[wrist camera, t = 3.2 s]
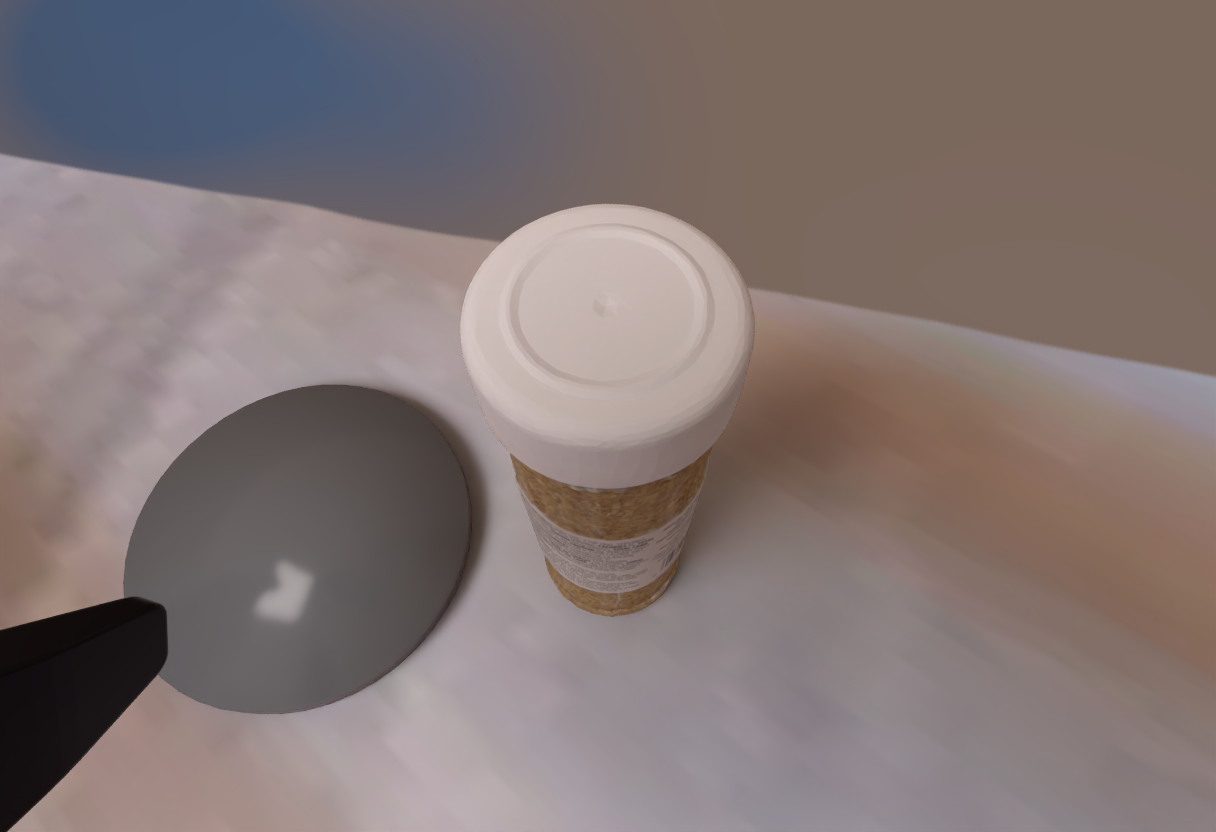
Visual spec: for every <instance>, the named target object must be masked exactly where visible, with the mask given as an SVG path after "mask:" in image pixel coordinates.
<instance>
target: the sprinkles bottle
mask: <svg viewBox="0 0 1216 832" xmlns="http://www.w3.org/2000/svg"><path fill="white" fill-rule="evenodd" d="M754 333H755V322H754V312H753V307H752V302H751V298H750V294H749V291H748V289H747V286H746V284H745V282H744V280H743V278H742V276H741V274H740V272H739V270H738V269H737V267H736V266H735V264H734V263H733V262H732V260H731V259H730V258H729V257H728V255H727V254H726V253H725V252H724V251H723V250H722V249H721V248H720V247H719V246H718V244H716V243H715V242H714V241H713V240H712V239H711V238H709V237H708V236H707V235H705V234H704V233H703V232H701V231H700V230H698V229H697V228H695V227H693V226H692V225H690V224H688V223H686V222H684V221H682V220H680V219H677V218H675V217H673V216H670V215H668V214H666V213H662V212H659V211H655V210H652V209H648V208H644V207H639V206H633V205H623V204H596V205H586V206H580V207H575V208H570V209H566V210H562V211H558V212H556V213H553V214H550V215H547V216H544V217H542V218H540V219H538V220H536V221H533V222H531V223H530V224H527V225H525V226H524V227H522V228H521V229H519V230H517V231H516V232H514V233H513V234H511V236H509V237H508V238H507V239H505V240H504V241H503V242H502V243H501V244H500V245H498V246H497V247H496V248H495V249H494V250H493V252H492V253H491V254H490V255H489V256H488V257H487V258H486V259H485V261H484V262H483V263H482V265H481V266H480V268H479V269H478V271H477V272H476V274H475V276H474V278H473V280H472V282H471V284H470V286H469V288H468V291H467V293H466V296H465V300H464V303H463V307H462V313H461V323H460V335H461V346H462V354H463V357H464V361H465V364H466V367H467V370H468V374H469V377H470V380H471V382H472V385H473V388H474V390H475V393H476V396H477V398H478V401H479V404H480V406H481V409H482V412H483V414H484V416H485V418H486V421H487V423H488V424H489V426H490V428H491V429H492V431H493V433H494V434H495V435H496V437H497V438H498V439H499V440H500V442H501V443H502V444H503V446H504V447H505V448H506V449H507V450H508V451H509V452H510V456H511V459H512V462H513V466H514V470H515V473H516V483H517V486H518V489H519V491H520V494H521V497H522V499H523V502H524V504H525V507H526V510H527V512H528V515H529V517H530V520H531V523H532V525H533V528H534V531H535V533H536V536H537V538H538V541H539V544H540V546H541V548H542V550H543V552H544V554H545V561H546V564H547V568H548V571H549V574H550V576H551V578H552V580H553V581H554V583H555V584H556V586H557V587H558V589H559V591H560V592H561V594H562V595H563V596H564V597H565V598H567V599H568V600H570V601H571V602H573V603H574V604H575V605H576V606H577V607H579V608H581V609H584V610H586V611H588V612H590V613H593V614H599V615H604V616H611V617H613V616H618V615H626V614H630V613H633V612H636V611H639V610H641V609H643V608H645V607H646V606H648V605H650V604H651V603H653V602H654V601H655V600H656V599H658V598H659V597H660V596H661V595H662V594H663V592H664V591H665V589H666V588H667V586H668V585H669V584H670V583H671V581H672V578H673V576H674V574H675V573H676V570H677V567H678V564H679V554H680V551H681V549H682V546H683V544H684V541H685V538H686V535H687V532H688V529H689V526H690V523H691V520H692V517H693V514H694V511H695V508H696V505H697V501H698V498H699V495H700V492H701V489H702V486H703V483H704V480H705V477H706V474H707V470H708V465H709V458H710V452H711V448H712V446H713V444H714V443H715V442H716V441H717V439H718V438H719V437H720V436H721V435H722V433H723V431H724V430H725V428H726V426H727V425H728V423H729V421H730V419H731V417H732V415H733V412H734V410H735V408H736V405H737V402H738V399H739V396H740V393H741V390H742V387H743V384H744V381H745V377H746V373H747V369H748V365H749V361H750V357H751V353H752V349H753V343H754Z"/></svg>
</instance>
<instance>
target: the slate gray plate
mask: <svg viewBox="0 0 1216 832" xmlns="http://www.w3.org/2000/svg"><path fill="white" fill-rule="evenodd" d="M471 528H472V520H471V503H470V497H469V491H468V486H467V483H466V480H465V477H464V474H463V471H462V469H461V467H460V465H459V463H458V461H457V459H456V457H455V455H454V453H453V451H452V449H451V447H450V446H449V444H448V443H447V441H446V440H445V438H444V437H443V436H442V434H441V433H440V431H439V430H438V429H437V428H436V427H435V426H434V425H433V424H432V423H431V422H430V421H429V420H428V419H427V418H426V417H425V416H424V415H423V414H421V413H420V412H419V411H417V410H416V409H415V408H413V407H412V406H410V405H408V404H407V403H405V402H403V401H401V400H399V399H398V398H396V397H393V396H390V395H388V394H385V393H383V392H380V391H376V390H372V389H368V388H364V387H358V386H349V385H317V386H309V387H302V388H297V389H293V390H288V391H284V392H281V393H278V394H275V395H272V396H269V397H266V398H263V399H261V400H258V401H256V402H254V403H252V404H249V405H247V406H245V407H243V408H241V409H239V410H238V411H236V412H234V413H232V414H230V415H229V416H227V417H225V418H224V419H222V420H221V421H219V422H218V423H217V424H215V425H214V426H212V427H211V428H209V429H208V430H207V431H205V432H204V433H203V434H202V435H201V436H200V437H198V438H197V439H196V440H195V441H194V442H193V443H191V444H190V445H189V446H188V447H187V448H186V449H185V450H184V451H183V452H182V453H181V454H180V455H179V456H178V458H177V459H176V460H175V461H174V462H173V463H172V464H171V466H170V467H169V468H168V469H167V471H166V472H165V473H164V474H163V476H162V477H161V478H160V480H159V481H158V483H157V484H156V486H155V487H154V489H153V491H152V492H151V494H150V495H149V497H148V499H147V501H146V503H145V505H144V507H143V509H142V511H141V513H140V515H139V517H138V519H137V522H136V525H135V527H134V530H133V533H132V536H131V539H130V542H129V547H128V551H127V556H126V560H125V571H124V582H123V584H124V598H127V597H131V596H137V597H142V598H145V599H148V600H151V601H154V602H157V603H160V604H162V605H163V606H164V607H165V609H166V611H167V625H168V657H167V660H166V662H165V664H164V666H163V668H162V669H161V671H160V672H159V673H158V674H159V675H160V677H161V678H162V679H164V680H165V681H166V682H167V683H169V684H170V685H171V686H173V687H174V688H175V689H176V690H178V691H179V692H181V693H183V694H185V695H187V696H189V697H190V698H192V699H194V700H196V701H198V702H201V703H204V704H207V705H210V706H213V707H216V708H219V709H224V710H231V711H237V712H244V713H254V714H285V713H293V712H300V711H306V710H310V709H314V708H317V707H321V706H325V705H328V704H331V703H334V702H336V701H338V700H341V699H343V698H346V697H348V696H350V695H353V694H355V693H357V692H358V691H360V690H362V689H364V688H365V687H367V686H369V685H371V684H372V683H374V682H376V681H377V680H379V679H380V678H381V677H383V676H384V675H386V674H387V673H388V672H390V671H391V670H392V669H394V668H395V667H397V666H398V665H399V664H400V663H401V662H402V661H403V660H404V659H405V658H406V657H407V656H409V655H410V654H411V653H412V652H413V651H414V650H415V649H416V648H417V647H418V646H419V644H420V643H421V642H422V641H423V640H424V639H425V637H426V636H427V635H428V634H429V633H430V632H431V630H432V629H433V628H434V626H435V625H436V623H437V622H438V620H439V619H440V617H441V616H442V614H443V613H444V611H445V610H446V608H447V606H448V604H449V602H450V600H451V599H452V597H453V595H454V593H455V591H456V589H457V586H458V584H459V581H460V578H461V576H462V573H463V570H464V568H465V563H466V559H467V555H468V551H469V547H470V537H471Z"/></svg>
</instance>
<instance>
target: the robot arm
mask: <svg viewBox="0 0 1216 832" xmlns="http://www.w3.org/2000/svg"><path fill="white" fill-rule="evenodd" d="M167 657H168V625H167V611H166V609H165V607H164V606H163V605H162V604H160V603H157V602H154V601H151V600H148V599H145V598H142V597H137V596H131V597H127V598H123V599H119V600H115V601H111V602H107V603H103V604H100V605H96V606H92V607H88V608H84V609H80V610H76V611H72V612H69V613H65V614H61V615H57V616H53V617H49V618H45V619H42V620H38V621H34V622H30V623H26V624H22V625H18V626H15V627H11V628H7V629H3V630H0V832H7V831H8V830H10V829H11V828H12V827H13V826H14V825H15V824H16V823H17V822H18V821H19V820H20V819H21V818H22V817H23V816H24V815H25V814H26V813H27V812H29V811H30V810H31V809H32V808H33V807H34V806H35V805H36V804H37V803H38V802H39V801H40V800H41V799H42V798H43V797H44V796H45V795H46V794H47V793H48V792H50V791H51V790H52V789H53V788H54V787H55V786H56V785H57V784H58V783H59V782H60V781H61V780H62V779H63V778H64V777H65V776H66V775H67V774H68V772H69V771H70V770H71V769H72V768H73V767H74V766H75V765H76V764H77V763H78V762H79V761H80V760H81V759H82V758H83V757H84V755H85V754H86V753H87V752H88V751H89V750H90V749H91V748H92V747H93V745H94V744H95V743H96V742H97V741H98V740H99V739H100V738H101V737H102V736H103V734H104V733H105V732H106V731H107V730H108V729H109V728H110V727H111V726H112V724H113V723H114V722H115V721H116V720H117V719H118V718H119V717H120V716H121V715H122V713H123V712H124V711H125V710H126V709H127V708H128V707H129V706H130V705H131V703H132V702H133V701H134V700H135V699H136V698H137V697H138V696H139V695H140V694H141V692H142V691H143V690H144V689H145V688H146V687H147V686H148V685H149V684H150V682H151V681H152V680H153V679H154V678H155V677H156V676H157V675H158V673H159V672H160V671H161V669H162V668H163V666H164V664H165V662H166V660H167Z"/></svg>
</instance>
